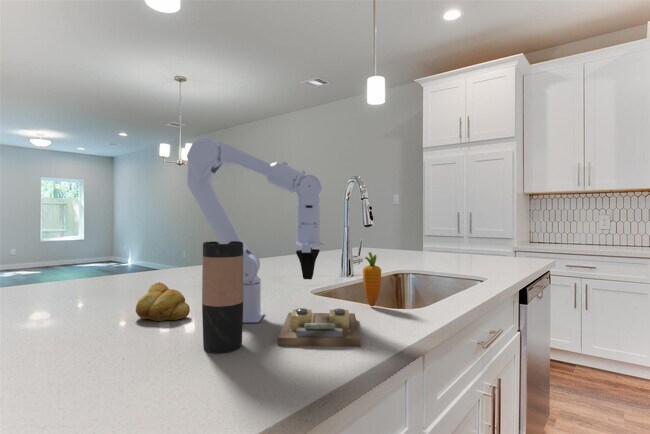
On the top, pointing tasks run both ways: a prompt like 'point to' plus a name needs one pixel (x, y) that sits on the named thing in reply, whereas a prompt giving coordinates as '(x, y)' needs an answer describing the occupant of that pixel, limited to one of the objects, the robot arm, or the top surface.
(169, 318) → the bread roll
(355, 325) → the base
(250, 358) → the top surface
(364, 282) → the carrot
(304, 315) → the slide
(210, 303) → the travel mug
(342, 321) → the slide
